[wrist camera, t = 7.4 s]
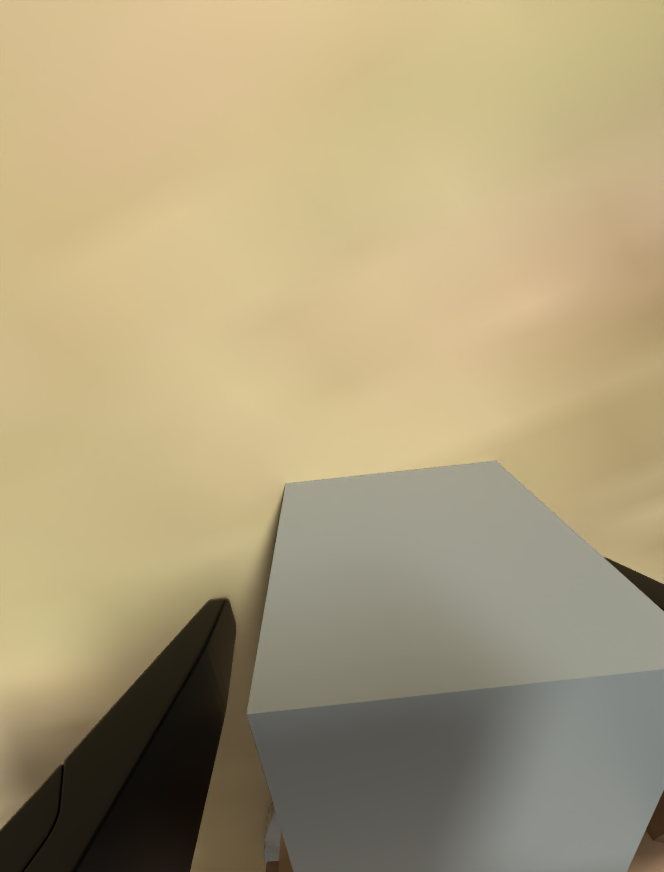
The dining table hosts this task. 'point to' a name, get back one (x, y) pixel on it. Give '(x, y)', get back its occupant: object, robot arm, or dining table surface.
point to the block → (453, 681)
